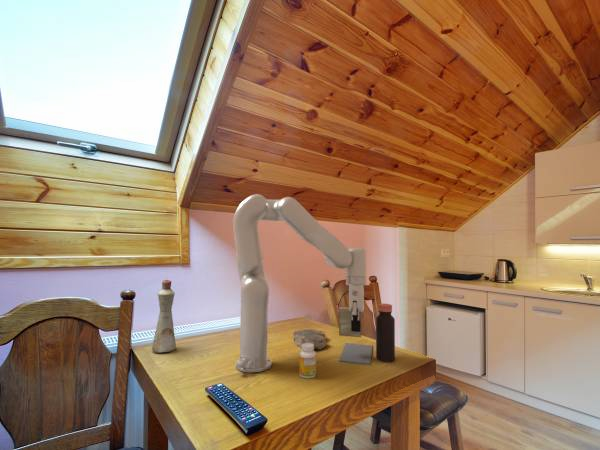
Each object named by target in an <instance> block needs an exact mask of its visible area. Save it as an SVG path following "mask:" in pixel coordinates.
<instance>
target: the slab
mask: <svg viewBox="0 0 600 450" xmlns="http://www.w3.org/2000/svg"><path fill="white" fill-rule="evenodd" d="M338 308H339V309H338V315H339V316H338V323H339V324H338V326H339V327H338V330H339V331H338V333H339V334H338V336H344V337H351V338H352V337H355V338H362V334H363V333H362V331H363V330H362V328H363V327H362V324H363V323H362V319H363V317H362V313H361V312H359V321H360V332H354V331H351V320H352V312H350V308H349V306H344V305H343V306H342V305H341V306H340V307H338ZM357 312H358V310H357ZM357 315H358V314H357Z"/></svg>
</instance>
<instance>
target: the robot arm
mask: <svg viewBox="0 0 600 450" xmlns="http://www.w3.org/2000/svg"><path fill="white" fill-rule="evenodd" d="M259 221H265V222H266V221H268V222H285V224H287V225H288V227H290V228H291V229H292V230H293V231H294V232H295V234H297V236H298V237H299V238H301V239H302V240H303V241H305V242H306V243H307V244H308V245H311V246H313V247H315V248H316V249H317V250H319V252H321V254H323V257H324V261H325V263H326V264H327V265H328V266H329V267H332V268H336V269H340V270H344V269H345V285H346V286H348V303H349V305H348V307H349V308H350V312H352V320H351V331H354V332H360V321H359V312H361V314H363V313H364V310H365V288H364V286H367V262H366V261H367V254H366V250H365V248H361V247H348V248H347V247H346V246H345V245H344V244H343V242H342V241H341V240H340V239H339V238H338V237H337V236H335V235H334V233H332V232H330V231H329V230H328V229H327V228H326V227H324V226H323V225H322V224H321V223H320V222H318V221H317V220H316V218H314V217H313V216H312V214H310V213H309V212H308V211H307V209H306V208H305V207H303V206H302V204H301V203H299V202H298V200H297V199H295V198H293V197H291V196H286V197H285V196H284V197H283V198H281V199H267V198H266V197H265V196H264V195H262V194H259V193H256V194H251V195H249V196H248V197H246V198H245V199H244V200H242V201H241V202H240V203H239V205H238V206H237V208H236V210H235V213H234V215H233V221H232V223H233V224H232V226H233V227H232V228H233V236H234V243H235V249H236V250H235V251H236V252H235V254H236V255H235V256H236V257H235V260H236V265H237V273H238V276H239V282H240V283H239V284H240V318H239V319H240V327H239V328H240V331H239V333H240V334H239V359H237V360H236V361H235V364H234V366H235V370H237V371H240V372H243V373H248V374H249V373H251V374H252V373H261V372H264V371H267V370H268V369H270V368H271V367H272V360H271V358H269V357H268V333H269V332H268V327H269V325H268V324H269V323H268V321H269V316H268V314H269V313H268V312H269V299H270V297H269V296H270V289H269V288H270V287H269V284H268V281H267V280H266V278H265V277H266V276H265V272H264V266H263V259H264V257H263V252H262V247H261V244H260V236H259V230H258V228H259V227H258V226H259V225H258V224H259ZM357 310H358V312H357ZM357 314H358V315H357Z"/></svg>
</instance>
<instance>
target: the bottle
mask: <svg viewBox="0 0 600 450" xmlns="http://www.w3.org/2000/svg"><path fill="white" fill-rule="evenodd" d="M161 287H162V288H161V290H160V291H158V293H157V296H158V297H157V298H158V303H159V304H158V305H159V314H158V319H157V322H156V323H157V324H156V329H155V332H154V337H153V342H152V345H151V349H152V353H156V354H157V353H158V354H159V353H169V352H174V350H175V349H176V346H177V345H176V344H177V343H176V337H175V328H174V321H173V312H172V308H173V304H174V299H175V298H174V297H175V294H176V293H175V292H174V290H173V289H172V280H170V279H167V278H166V279H165V280H162V281H161Z"/></svg>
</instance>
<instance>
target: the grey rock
mask: <svg viewBox="0 0 600 450" xmlns="http://www.w3.org/2000/svg"><path fill="white" fill-rule="evenodd" d="M293 342H294V344H295V346H297V347H299V348H300V349H302V344H304V343H312V344H314V350H322V349H324V348H325V347H327V339H326V333H325V332H324V331H322V330H318V329H300V330H294V332H293Z"/></svg>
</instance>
